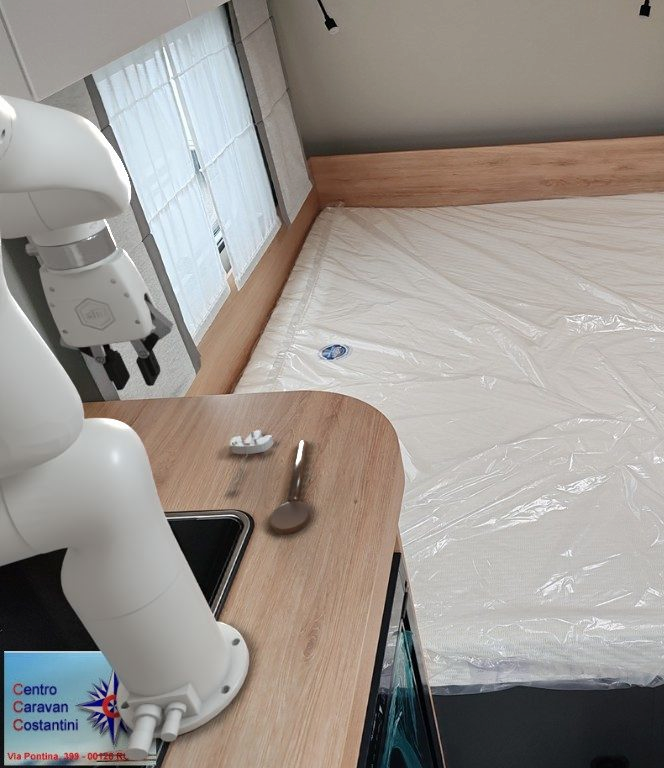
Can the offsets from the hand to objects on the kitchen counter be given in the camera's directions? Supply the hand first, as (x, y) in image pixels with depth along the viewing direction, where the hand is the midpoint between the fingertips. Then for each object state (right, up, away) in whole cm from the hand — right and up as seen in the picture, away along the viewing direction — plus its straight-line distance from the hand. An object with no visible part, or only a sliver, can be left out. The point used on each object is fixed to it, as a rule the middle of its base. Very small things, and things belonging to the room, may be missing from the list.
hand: (138, 380), depth 95 cm
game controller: (+10, -12, +9) cm, 18 cm away
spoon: (+19, -14, +4) cm, 24 cm away
